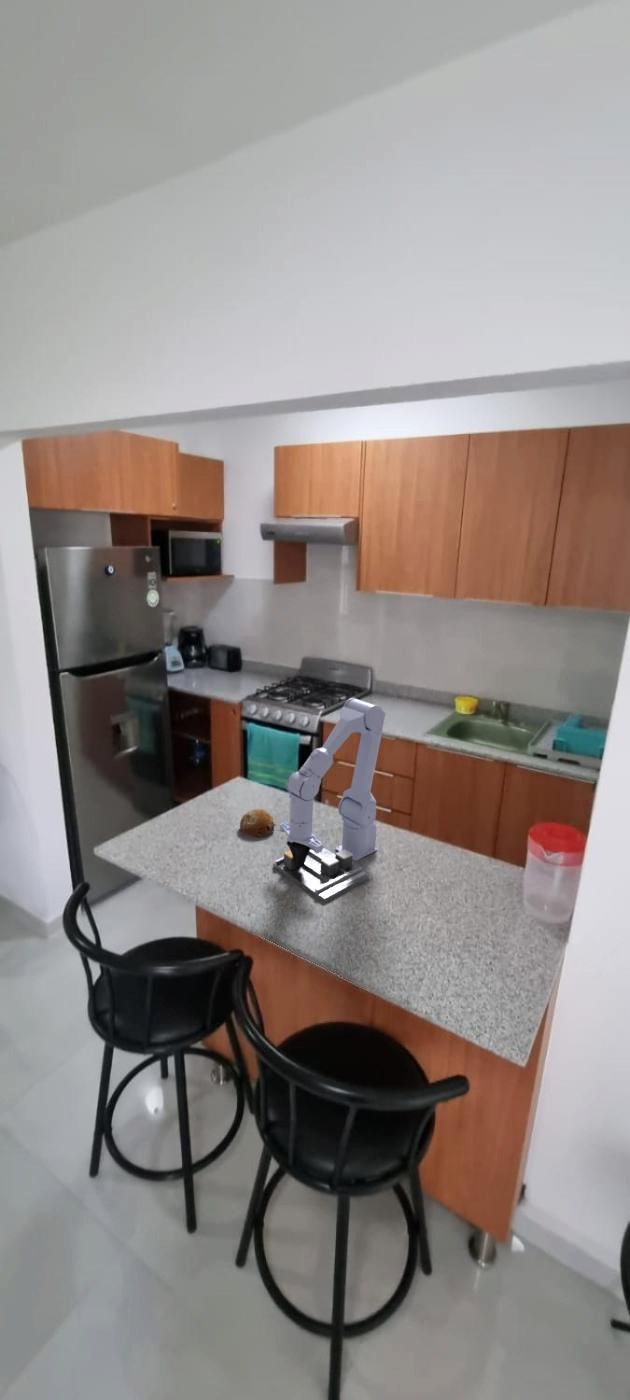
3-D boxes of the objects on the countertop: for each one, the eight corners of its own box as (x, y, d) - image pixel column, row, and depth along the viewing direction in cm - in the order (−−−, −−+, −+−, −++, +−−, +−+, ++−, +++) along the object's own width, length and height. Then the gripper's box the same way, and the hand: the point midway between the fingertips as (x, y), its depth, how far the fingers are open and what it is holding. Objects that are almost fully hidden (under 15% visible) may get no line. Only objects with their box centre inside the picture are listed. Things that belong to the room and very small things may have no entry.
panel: (317, 847, 160) (317, 840, 159) (369, 879, 146) (369, 871, 145) (273, 866, 149) (273, 859, 149) (324, 902, 135) (324, 895, 134)
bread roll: (260, 830, 175) (252, 806, 175) (284, 827, 169) (276, 802, 169) (238, 843, 167) (230, 817, 167) (262, 840, 161) (254, 813, 161)
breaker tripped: (293, 860, 150) (293, 848, 149) (300, 865, 148) (301, 853, 147) (283, 864, 148) (284, 852, 147) (291, 869, 145) (291, 857, 145)
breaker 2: (344, 861, 151) (344, 849, 150) (352, 865, 148) (352, 853, 148) (335, 865, 148) (335, 853, 147) (343, 870, 146) (343, 858, 145)
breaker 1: (329, 867, 147) (330, 855, 146) (337, 872, 145) (338, 860, 144) (320, 872, 145) (321, 860, 144) (328, 877, 143) (329, 865, 142)
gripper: (271, 812, 144) (270, 859, 148) (308, 834, 134) (306, 884, 138) (291, 804, 149) (290, 850, 152) (329, 825, 139) (327, 873, 142)
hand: (299, 865), depth 145 cm, fingers closed
